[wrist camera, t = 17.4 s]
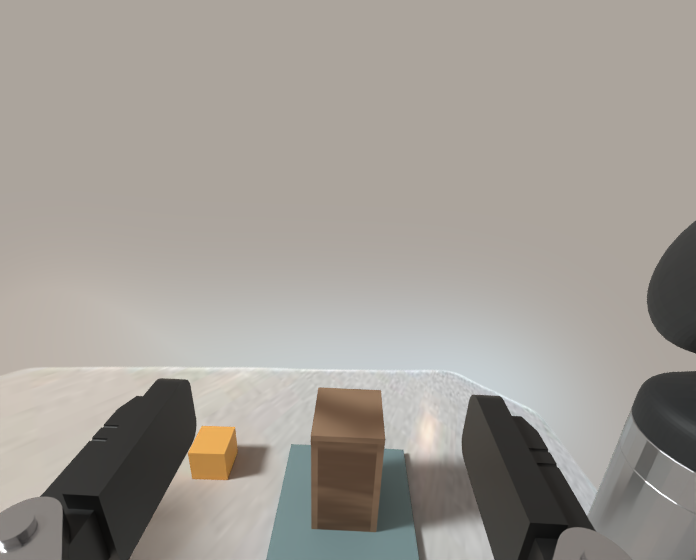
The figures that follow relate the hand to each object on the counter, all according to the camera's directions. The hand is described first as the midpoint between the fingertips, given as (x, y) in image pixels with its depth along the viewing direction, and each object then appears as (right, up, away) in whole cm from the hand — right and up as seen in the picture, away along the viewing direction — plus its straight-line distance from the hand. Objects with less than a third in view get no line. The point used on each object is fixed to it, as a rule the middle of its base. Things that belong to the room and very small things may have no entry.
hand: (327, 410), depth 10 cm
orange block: (-15, -18, +33) cm, 40 cm away
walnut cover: (0, -20, +28) cm, 34 cm away
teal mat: (0, -20, +29) cm, 35 cm away
